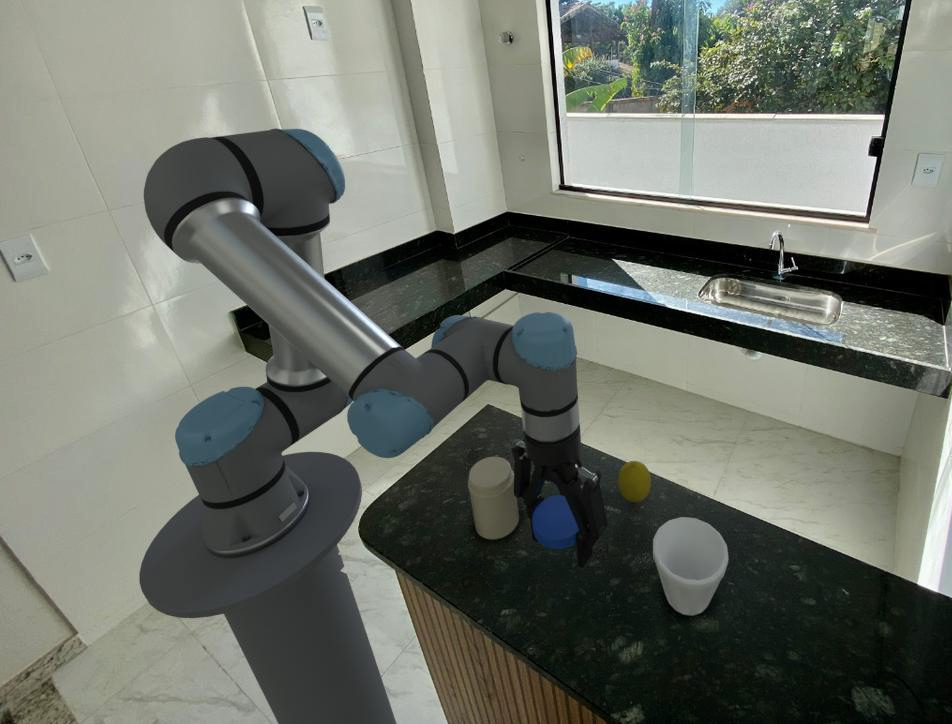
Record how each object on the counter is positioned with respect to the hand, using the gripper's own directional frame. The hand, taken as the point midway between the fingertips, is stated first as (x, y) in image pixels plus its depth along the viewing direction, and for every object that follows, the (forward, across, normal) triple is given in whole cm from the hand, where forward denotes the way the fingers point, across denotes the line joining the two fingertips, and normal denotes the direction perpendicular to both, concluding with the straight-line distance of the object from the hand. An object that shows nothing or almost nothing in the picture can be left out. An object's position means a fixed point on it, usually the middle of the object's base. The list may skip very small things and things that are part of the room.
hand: (562, 546), depth 73 cm
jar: (+2, +13, 0) cm, 13 cm away
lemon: (+2, -4, -15) cm, 16 cm away
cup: (+2, -18, -4) cm, 19 cm away
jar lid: (-6, 0, 0) cm, 6 cm away
